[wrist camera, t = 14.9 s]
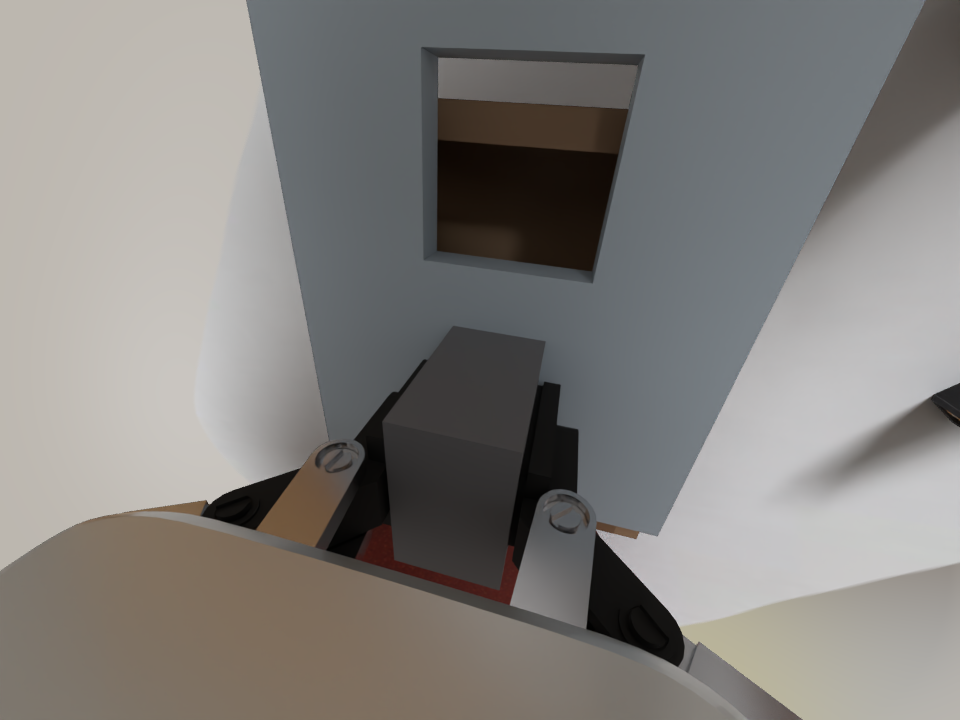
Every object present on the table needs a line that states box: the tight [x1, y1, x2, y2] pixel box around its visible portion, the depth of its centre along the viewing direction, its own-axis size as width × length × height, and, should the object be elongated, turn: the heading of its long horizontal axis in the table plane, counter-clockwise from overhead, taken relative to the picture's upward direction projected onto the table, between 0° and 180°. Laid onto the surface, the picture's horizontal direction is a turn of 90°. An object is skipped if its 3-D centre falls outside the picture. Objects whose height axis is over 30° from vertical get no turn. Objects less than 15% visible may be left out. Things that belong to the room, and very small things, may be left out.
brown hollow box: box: [437, 98, 639, 539], centre depth 17 cm, size 16×14×7 cm
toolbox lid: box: [246, 0, 926, 590], centre depth 10 cm, size 16×14×6 cm
